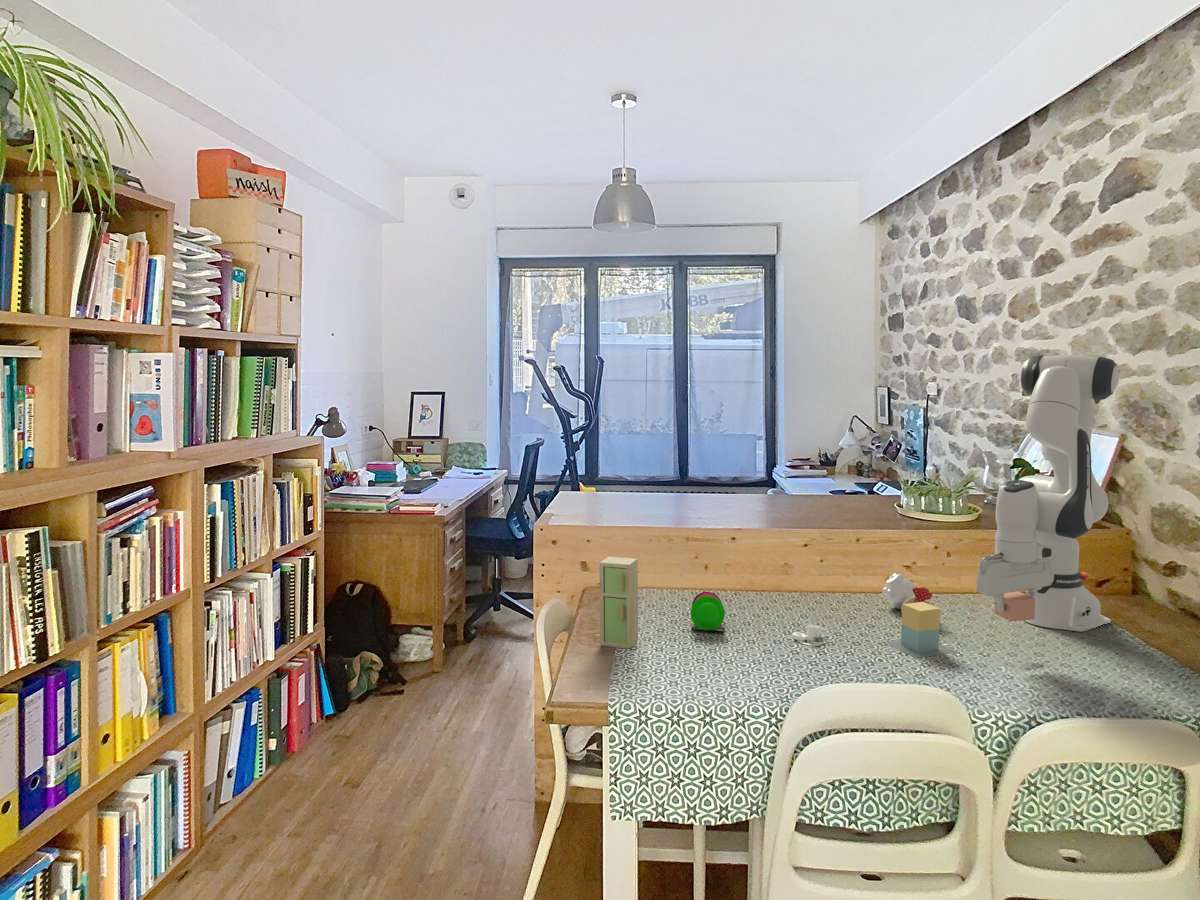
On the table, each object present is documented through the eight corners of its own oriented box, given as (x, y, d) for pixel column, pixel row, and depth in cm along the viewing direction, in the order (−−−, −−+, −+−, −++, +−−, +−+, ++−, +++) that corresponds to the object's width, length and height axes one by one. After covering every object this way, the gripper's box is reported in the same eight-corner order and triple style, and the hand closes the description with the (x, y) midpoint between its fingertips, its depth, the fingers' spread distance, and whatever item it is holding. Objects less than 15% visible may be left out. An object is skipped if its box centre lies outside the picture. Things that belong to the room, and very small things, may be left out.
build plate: (921, 641, 208) (922, 636, 208) (957, 657, 197) (957, 652, 197) (882, 646, 204) (882, 642, 204) (916, 663, 193) (916, 658, 193)
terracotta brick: (1017, 611, 199) (1018, 591, 199) (1034, 619, 193) (1035, 598, 193) (994, 613, 198) (995, 593, 198) (1010, 621, 192) (1011, 600, 192)
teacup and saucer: (788, 641, 209) (788, 625, 209) (804, 634, 215) (804, 618, 215) (819, 649, 203) (820, 633, 203) (835, 642, 209) (835, 626, 209)
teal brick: (920, 641, 205) (921, 621, 204) (938, 649, 199) (939, 629, 198) (900, 644, 202) (901, 624, 202) (918, 652, 197) (918, 631, 196)
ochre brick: (921, 621, 204) (922, 601, 204) (939, 629, 198) (940, 608, 198) (901, 624, 202) (902, 604, 202) (918, 631, 196) (919, 611, 196)
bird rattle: (913, 637, 218) (947, 625, 217) (897, 598, 217) (930, 586, 216) (907, 630, 224) (939, 618, 223) (891, 592, 224) (924, 580, 222)
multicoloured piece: (691, 626, 228) (691, 634, 213) (688, 591, 228) (687, 597, 214) (725, 624, 227) (726, 632, 212) (722, 589, 227) (723, 594, 213)
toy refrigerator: (598, 646, 204) (598, 562, 202) (608, 637, 211) (608, 556, 209) (629, 650, 201) (629, 565, 199) (638, 641, 208) (638, 558, 206)
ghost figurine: (887, 601, 243) (888, 568, 242) (921, 607, 238) (922, 573, 237) (877, 609, 236) (879, 574, 235) (912, 615, 230) (913, 579, 229)
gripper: (991, 559, 188) (990, 618, 189) (1060, 548, 194) (1058, 606, 196) (970, 553, 193) (969, 611, 195) (1037, 543, 200) (1036, 599, 202)
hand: (1014, 608), depth 196 cm, fingers closed on terracotta brick, 6 cm apart
